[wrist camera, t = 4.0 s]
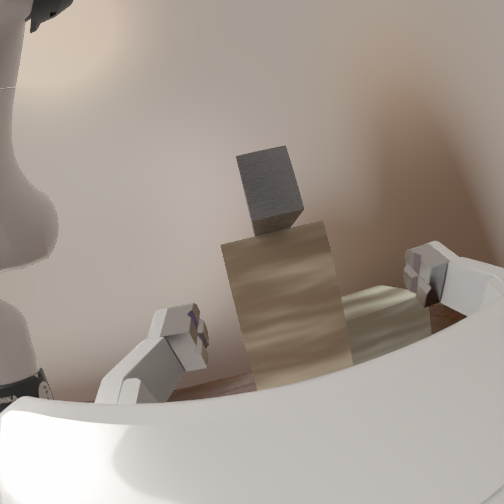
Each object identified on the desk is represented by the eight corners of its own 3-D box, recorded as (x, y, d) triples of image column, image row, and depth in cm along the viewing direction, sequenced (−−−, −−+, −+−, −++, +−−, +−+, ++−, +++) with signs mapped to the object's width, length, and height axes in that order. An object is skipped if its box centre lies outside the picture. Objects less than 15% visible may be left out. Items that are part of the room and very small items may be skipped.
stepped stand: (431, 414, 21) (407, 201, 23) (279, 467, 22) (220, 244, 23) (391, 380, 33) (364, 220, 35) (275, 415, 34) (234, 252, 35)
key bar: (304, 208, 15) (285, 145, 15) (252, 221, 15) (236, 156, 15) (280, 240, 34) (272, 209, 34) (257, 245, 34) (249, 215, 34)
